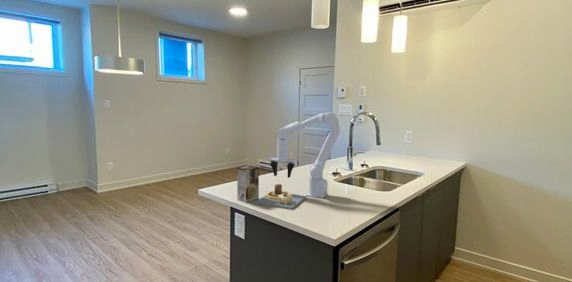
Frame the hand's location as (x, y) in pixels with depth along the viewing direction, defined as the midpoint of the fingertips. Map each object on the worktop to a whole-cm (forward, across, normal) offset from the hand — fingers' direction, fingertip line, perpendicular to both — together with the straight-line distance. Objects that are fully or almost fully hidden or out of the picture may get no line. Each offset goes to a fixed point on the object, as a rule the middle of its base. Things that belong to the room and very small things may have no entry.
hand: (282, 176), depth 164 cm
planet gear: (+8, -1, +7) cm, 11 cm away
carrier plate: (+9, -4, +11) cm, 15 cm away
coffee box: (+10, +12, +16) cm, 22 cm away
